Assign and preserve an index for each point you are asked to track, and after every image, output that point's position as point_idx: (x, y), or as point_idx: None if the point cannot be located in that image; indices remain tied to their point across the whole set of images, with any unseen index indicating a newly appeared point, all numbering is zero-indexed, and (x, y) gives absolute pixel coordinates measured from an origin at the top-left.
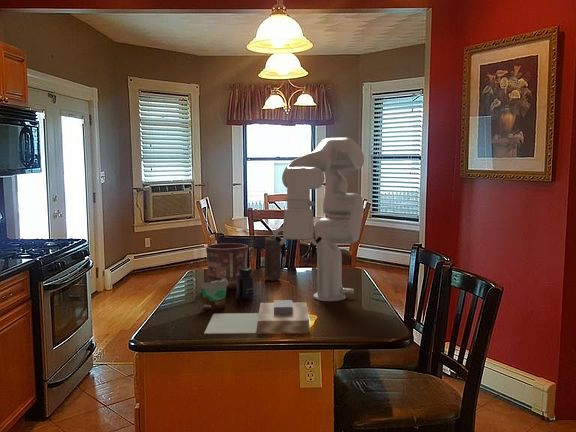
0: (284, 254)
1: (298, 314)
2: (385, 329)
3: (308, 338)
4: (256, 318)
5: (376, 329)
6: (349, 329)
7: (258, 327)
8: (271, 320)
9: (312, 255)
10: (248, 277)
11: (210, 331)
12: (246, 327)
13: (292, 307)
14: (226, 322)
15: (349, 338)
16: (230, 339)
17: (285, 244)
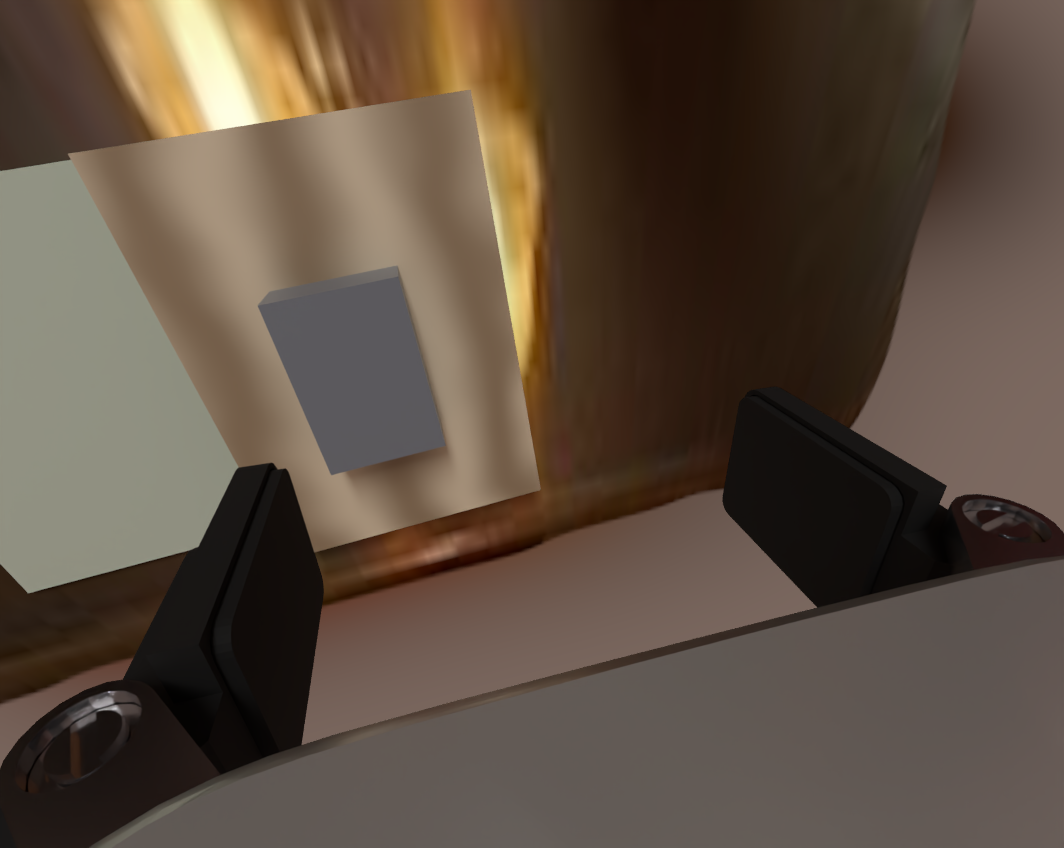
0: (316, 615)
1: (472, 412)
2: (827, 343)
3: (530, 513)
4: None
5: (794, 350)
6: (690, 373)
7: None
8: (359, 536)
9: (744, 522)
10: None
11: (43, 567)
12: (200, 471)
13: (444, 445)
14: (10, 419)
15: (677, 475)
16: None
17: (245, 680)
